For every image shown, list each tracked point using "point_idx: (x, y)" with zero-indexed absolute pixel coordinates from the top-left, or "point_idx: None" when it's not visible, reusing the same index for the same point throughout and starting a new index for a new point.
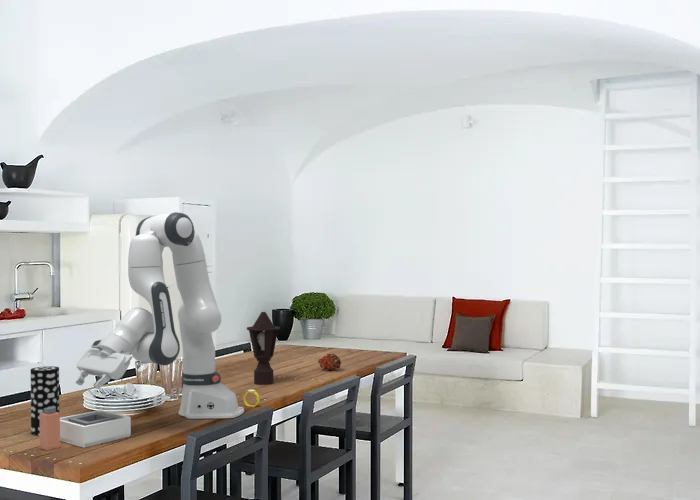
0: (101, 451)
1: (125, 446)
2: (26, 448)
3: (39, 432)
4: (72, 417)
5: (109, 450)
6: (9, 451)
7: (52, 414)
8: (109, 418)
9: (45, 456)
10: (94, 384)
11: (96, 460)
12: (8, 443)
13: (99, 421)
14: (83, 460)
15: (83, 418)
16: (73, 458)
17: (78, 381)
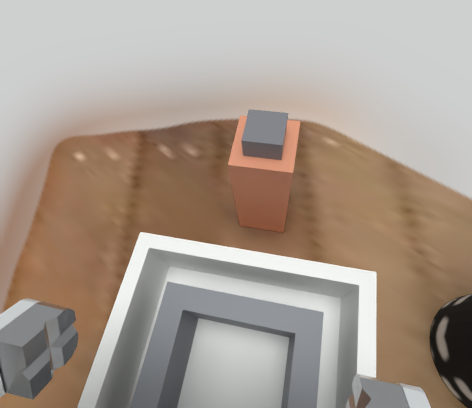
0: (87, 252)
1: None
2: (319, 174)
3: (458, 299)
4: (354, 366)
5: (69, 271)
6: (331, 137)
7: (235, 135)
8: None
9: (203, 151)
10: (48, 309)
11: (53, 186)
12: (424, 183)
13: (147, 349)
14: (86, 172)
15: (289, 383)
16: (122, 171)
17: (361, 379)
